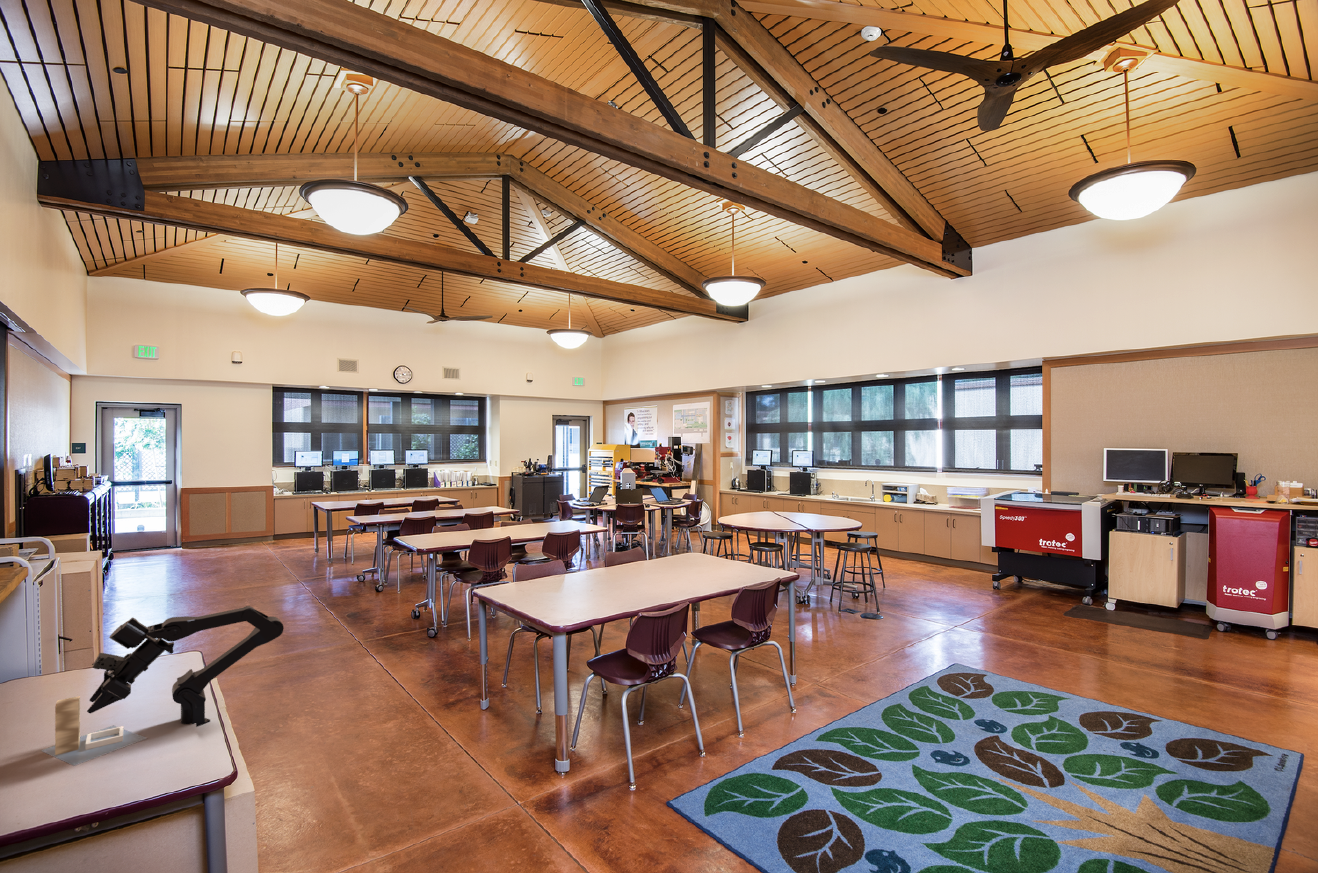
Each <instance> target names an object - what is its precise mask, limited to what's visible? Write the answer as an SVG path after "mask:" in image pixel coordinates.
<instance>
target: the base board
mask: <svg viewBox="0 0 1318 873" xmlns="http://www.w3.org/2000/svg"><path fill="white" fill-rule="evenodd" d="M116 727H118V726H116V725H111V726H108V727H105V728H102V729H100V730H96V731H93V732H92V733H94V732H99V731H103V730H107V729H112V728H116ZM115 736H119V733H117V734H113V735H109V736H104V737H100V738H96V739H92V740H91V742H94V741H98V740H102V739H106V738H111V737H115ZM86 739H87V734H85V735H80V745H79V750H75V751H70V752H66V753H62V754H58V755H55V745H53V746H50V747H47V748H44V749H41V750H40V751H41V752H42V753H45V754H47V755H49V756H51V757H54V758H56V759H58V760H60V761H62V762H65V763H66V764H69V765H71V766H73V767H74V766H77V765H80V764H84V763H86V762H88V761H91V760H94V759H96V758H99V757H101V756H104V755H106V754H110V753H112V752H114V751H116V750H120V749H122V748H125V747H128V746H130V745H133V744H135V743H138V742H142V741H145V740H146V739H148V737H145V736H143V735H140V734H137V733H135V732H132V731H129V730H127V729H124V732H123V741H121V742H117V743H113V744H109V745H104V746H100V747H96V748H92V749H88V750H85V744H86Z"/></svg>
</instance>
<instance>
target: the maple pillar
mask: <svg viewBox="0 0 1318 873" xmlns="http://www.w3.org/2000/svg"><path fill="white" fill-rule="evenodd" d="M54 708H55V714H54V720H55V721H54V722H55V724H54V727H55V729H54V730H55V733H54V736H55V738H54V739H55V742H54V743H55V744H54V746H55V755H58V754H62V753H66V752H70V751H75V750H79V745H80V737H81V696H80V695H79V696H73V697H68V698H63V699H58V700H56V703H55V706H54Z"/></svg>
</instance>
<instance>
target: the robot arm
mask: <svg viewBox="0 0 1318 873" xmlns="http://www.w3.org/2000/svg"><path fill="white" fill-rule="evenodd" d="M244 622H247V623H248V624H250V625H252V626H253V627H254V628H253V629H252V631H251V632H250V633H249V635H247V636H246V637H245V638H244V639H242V640H240V641H239V642H238V643H236V644H234V646H233V647H231V648H229V649H228V650H226V651H225V652H223V653H222V654H221V655H219V656H218V657H217V658H216V659H214V660H213V661H211V662H210V663H208V664H207V665H206V666H204V667H203V668H201V669H199V670H197V671H193V669H191V668H190V669H189V670H188V671H186V672H185V673H184V674H183V675H181V676H179V677H177V678H176V681H175V682H174V683H173V685H172V688H171V694H172V700H173V701H174V702H175V704H180V724H183V725H190V724H191V725H194V724H195V727H196V728H197V727H200V726H203V725H205V724H208V723H210V722H211V719H210V718H207V717H206V714H205V713H206V711H205V710H206V707H205V706H206V699H207V698H206V694H205V688H206V687H207V686H208V685H209V683H210V682H211V681H212V680H213V679H215V678H217V677H218V676H219V675H220V674H222V673H223V672H225V671H226V670H227V669H229V668H231V666H234V664H236V663H238V661H240V660H241V659H243V658H244V657H245V656H247V655H248V654H249V653H251V652H253V651H254V650H255V649H256V648H258V647H261V646H263V645H266V644H269V643H270V642H272V641H274V640H276V639H277V638H279V637H280V636H281V635H282V634H283V633H284V630H285V627H284V625H283V623H282V621H281V620H280V619H279V618H278V617H277V616H273V615H272V616H271V615H270V616H268V615H267V614H265V613H263V612H261V611H259V610H257V609H256V608H254V607H253V606H251V605H246V606H244V607H239V608H234V609H231V610H225V611H220V612H214V613H210V614H205V615H200V616H187V615H186V616H185V615H184V616H173V617H172V616H171V617H169V618H167V619H165V620H164V621H163V622H160V623H156V624H153V625H148V626H146V625H144V624H143V623H141V622H140V621H139V620H137V619H136V618H134V617H131V618H129V620H127V621H125V622H124V623H123V624H121V625H119V626H118V627H117V628H116V629H115V630H114V631H113V632H112V633H111V634H110V635H109V637H108V638H109V639H110V640H112V641H114V642H115V643H117V644H118V645H120V646H122V647H124V648H125V649H134V648H135V649H134V650H133V651H132V652H130V653H126V654H125V656H121V655H120V656H119V655H115V654H111V653H105V652H99V654H98V655H97V657H96V659H95V661H94V662H93V664H92V669H95V670H103V671H104V673H103V680H102V682H101V683H100V685H99V686H98V687H97V689H96V690H95V692H93V694H92V696H91V697H90V698H89V702H90V703H92V704H91V706H89V708H88V709H87V711H86V712H87V714H88V713H89V714H93V713H95V712H97V711H99V710H101V709H103V708H105V707H107V706H109V705H112V704H114V703H117V702H119V701H122V700H125V699H126V698H127V697H128V696H129V695H130V694H131V692H132V684H134V682H136V679H137V678H138V676H140V675H141V674H142V673H143V672H146V671H147V670H149V667H150V666H151V664H153V663H154V662H155V661H156V660H157V659H158V658H159V657H160V656H162V654H163V653H164V652H165V651H166V653H169V654H170V655H171V654H172V655H173V654H174V646H175V643H174V642H177V641H179V640H181V639H185V638H187V637H189V636H192V635H194V634H196V633H198V632H201V631H206V630H210V629H214V628H219V627H225V626H230V625H233V624H234V625H235V624H238V623H244Z"/></svg>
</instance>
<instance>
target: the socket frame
mask: <svg viewBox="0 0 1318 873" xmlns="http://www.w3.org/2000/svg"><path fill="white" fill-rule="evenodd" d="M124 728H125V727H124V725H121V726H117V727H116V728H112V729H107V730H103V731H99V730H98V731H99V732H96V731H93V732H94V733H93V732H91V733H87V734H86V735H87V739H86V744H85V750H88V749H92V748H96V747H100V746H104V745H109V744H113V743H117V742H121V741H123V732H124V730H125V729H124ZM117 733H119V736H115V737H111V738H106V739H102V740H98V741H94V742H91V740H92V739H96V738H100V737H104V736H109V735H113V734H117Z"/></svg>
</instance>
